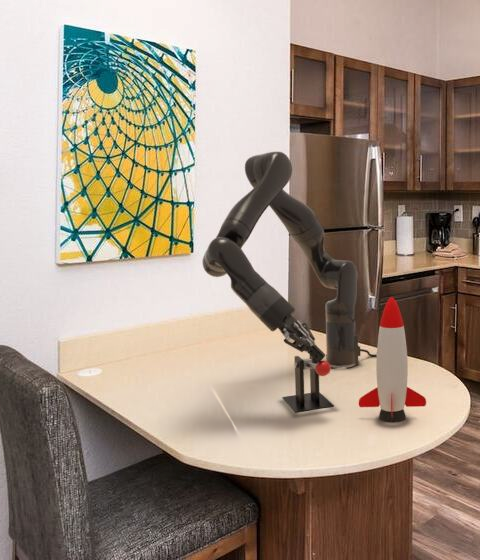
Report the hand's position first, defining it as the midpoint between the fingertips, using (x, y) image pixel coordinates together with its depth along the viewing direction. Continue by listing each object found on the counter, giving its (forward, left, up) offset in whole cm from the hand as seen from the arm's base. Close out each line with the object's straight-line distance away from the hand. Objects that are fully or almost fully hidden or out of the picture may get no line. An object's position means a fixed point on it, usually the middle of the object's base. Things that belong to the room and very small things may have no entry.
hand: (322, 359), depth 144 cm
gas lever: (0, -6, -5) cm, 8 cm away
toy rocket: (-15, +6, -16) cm, 23 cm away
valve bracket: (0, -13, -15) cm, 20 cm away
